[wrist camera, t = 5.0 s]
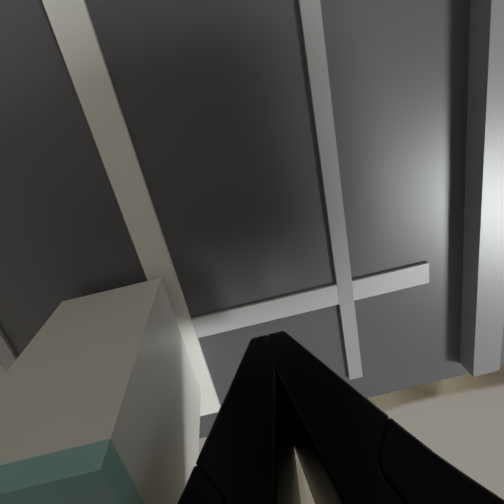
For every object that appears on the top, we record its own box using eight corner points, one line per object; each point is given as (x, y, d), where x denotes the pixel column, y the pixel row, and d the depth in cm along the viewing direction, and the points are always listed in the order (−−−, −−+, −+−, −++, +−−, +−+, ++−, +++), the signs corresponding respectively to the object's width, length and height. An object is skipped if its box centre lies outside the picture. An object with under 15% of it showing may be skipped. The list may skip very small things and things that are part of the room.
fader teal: (161, 277, 8) (100, 469, 4) (201, 390, 10) (190, 625, 5) (62, 301, 8) (-112, 521, 4) (116, 410, 10) (34, 664, 5)
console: (529, -605, 5) (703, -1000, 3) (478, 334, 12) (527, 376, 10) (-702, -342, 5) (-1240, -605, 3) (-48, 461, 12) (-97, 527, 10)
